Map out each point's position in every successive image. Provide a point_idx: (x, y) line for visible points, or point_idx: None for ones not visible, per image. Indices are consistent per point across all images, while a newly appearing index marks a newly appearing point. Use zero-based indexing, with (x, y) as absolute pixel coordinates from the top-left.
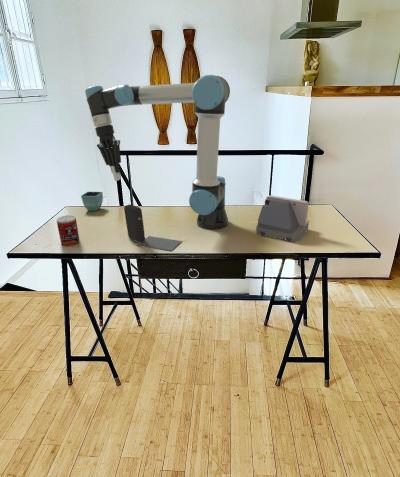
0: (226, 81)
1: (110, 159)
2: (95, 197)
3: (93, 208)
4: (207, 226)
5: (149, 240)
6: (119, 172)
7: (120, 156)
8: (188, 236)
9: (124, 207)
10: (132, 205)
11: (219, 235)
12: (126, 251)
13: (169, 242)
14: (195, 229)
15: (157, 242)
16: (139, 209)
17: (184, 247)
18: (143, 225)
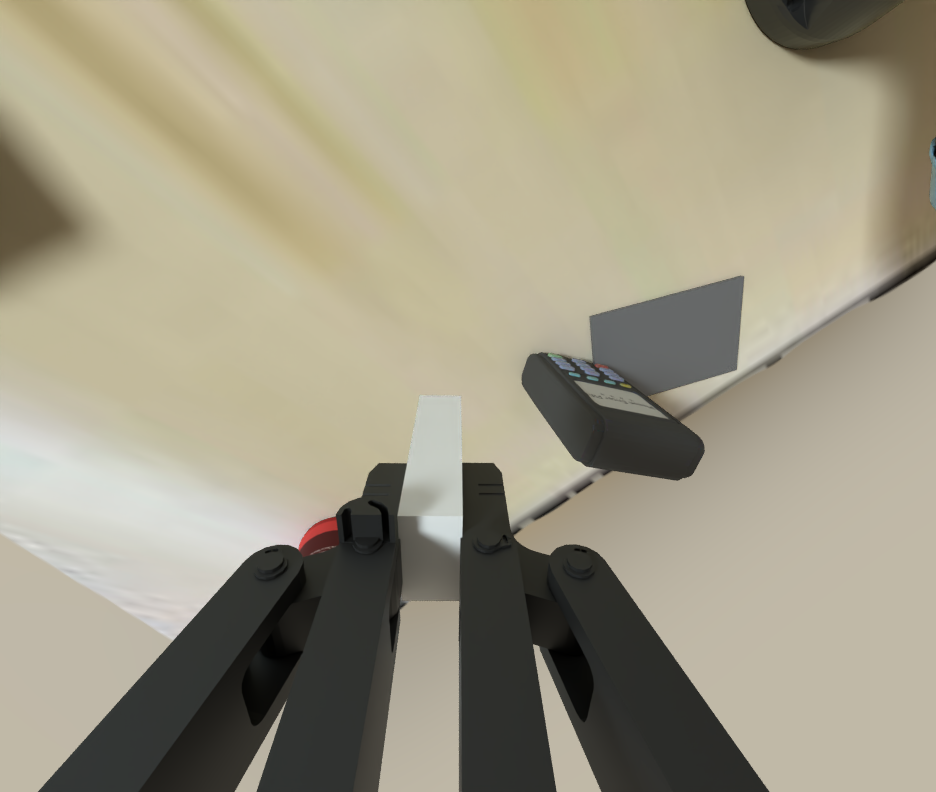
0: None
1: (383, 698)
2: None
3: None
4: (828, 43)
5: (619, 352)
6: (461, 440)
7: (675, 662)
8: (748, 204)
9: (587, 466)
10: (636, 442)
11: (878, 105)
12: None
13: (703, 319)
14: (755, 93)
15: (659, 347)
16: (700, 453)
17: (765, 313)
18: (648, 398)
